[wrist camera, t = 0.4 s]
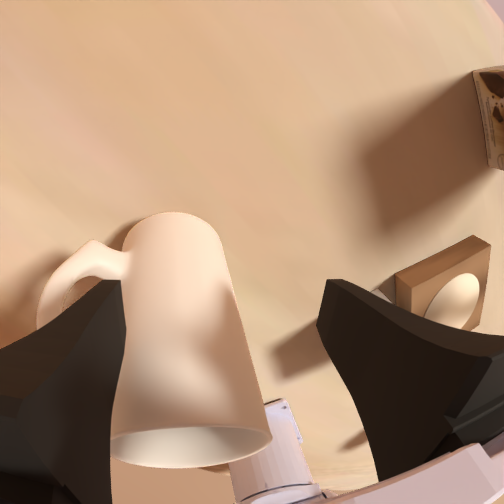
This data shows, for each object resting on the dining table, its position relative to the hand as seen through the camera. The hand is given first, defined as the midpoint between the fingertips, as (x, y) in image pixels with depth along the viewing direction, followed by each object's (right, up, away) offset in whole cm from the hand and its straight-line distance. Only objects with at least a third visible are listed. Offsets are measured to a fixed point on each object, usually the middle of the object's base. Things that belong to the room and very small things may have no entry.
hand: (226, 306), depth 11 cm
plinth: (+19, -3, +16) cm, 25 cm away
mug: (-5, +3, +8) cm, 10 cm away
